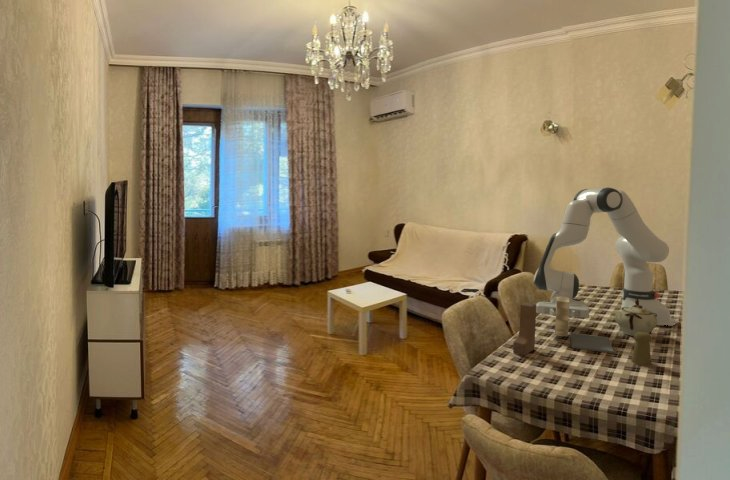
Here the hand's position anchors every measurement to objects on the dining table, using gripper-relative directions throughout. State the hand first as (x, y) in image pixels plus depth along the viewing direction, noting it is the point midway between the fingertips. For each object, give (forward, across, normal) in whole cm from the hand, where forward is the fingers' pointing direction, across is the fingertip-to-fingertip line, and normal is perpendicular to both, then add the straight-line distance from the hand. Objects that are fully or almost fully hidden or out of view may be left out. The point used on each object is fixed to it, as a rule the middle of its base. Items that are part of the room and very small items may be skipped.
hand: (562, 315), depth 173 cm
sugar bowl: (-20, +29, +11) cm, 37 cm away
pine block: (0, 0, +8) cm, 8 cm away
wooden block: (+18, -13, +11) cm, 25 cm away
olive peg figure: (+13, +26, +11) cm, 31 cm away
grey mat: (-1, +11, +11) cm, 15 cm away
